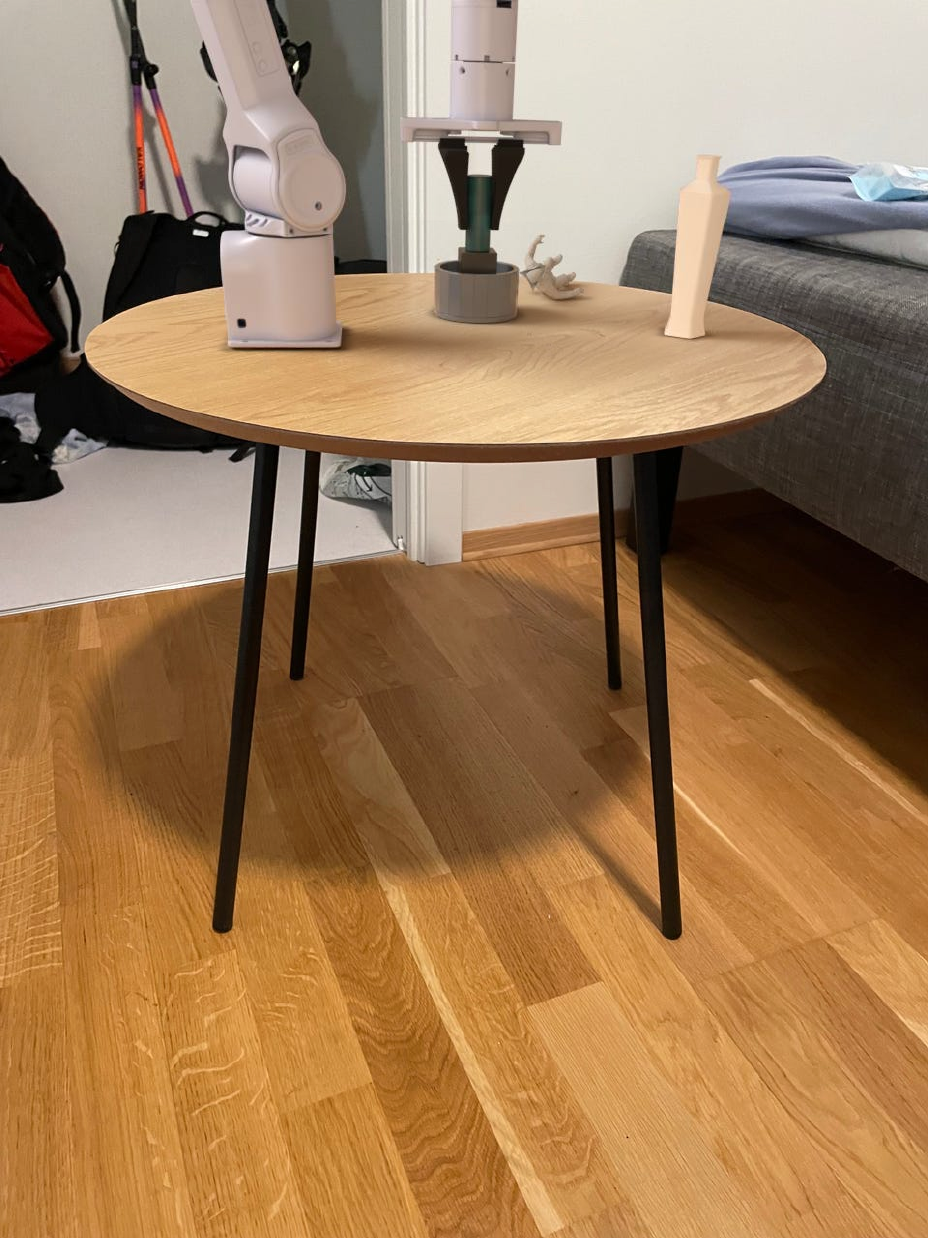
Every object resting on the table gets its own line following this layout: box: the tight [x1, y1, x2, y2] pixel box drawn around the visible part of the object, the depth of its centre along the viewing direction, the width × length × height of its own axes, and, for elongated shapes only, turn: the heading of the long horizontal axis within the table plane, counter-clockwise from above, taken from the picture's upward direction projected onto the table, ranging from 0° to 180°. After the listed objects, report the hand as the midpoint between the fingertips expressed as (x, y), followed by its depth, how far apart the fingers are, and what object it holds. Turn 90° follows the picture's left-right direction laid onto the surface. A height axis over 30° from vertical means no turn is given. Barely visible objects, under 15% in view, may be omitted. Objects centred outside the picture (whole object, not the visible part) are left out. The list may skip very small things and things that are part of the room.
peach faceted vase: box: [664, 154, 732, 339], centre depth 84 cm, size 5×4×15 cm
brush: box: [457, 173, 498, 274], centre depth 89 cm, size 3×3×9 cm
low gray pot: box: [433, 259, 520, 324], centre depth 92 cm, size 8×8×4 cm
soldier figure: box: [519, 234, 585, 300], centre depth 101 cm, size 8×5×12 cm
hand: (478, 228), depth 89 cm, fingers closed on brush, 2 cm apart
